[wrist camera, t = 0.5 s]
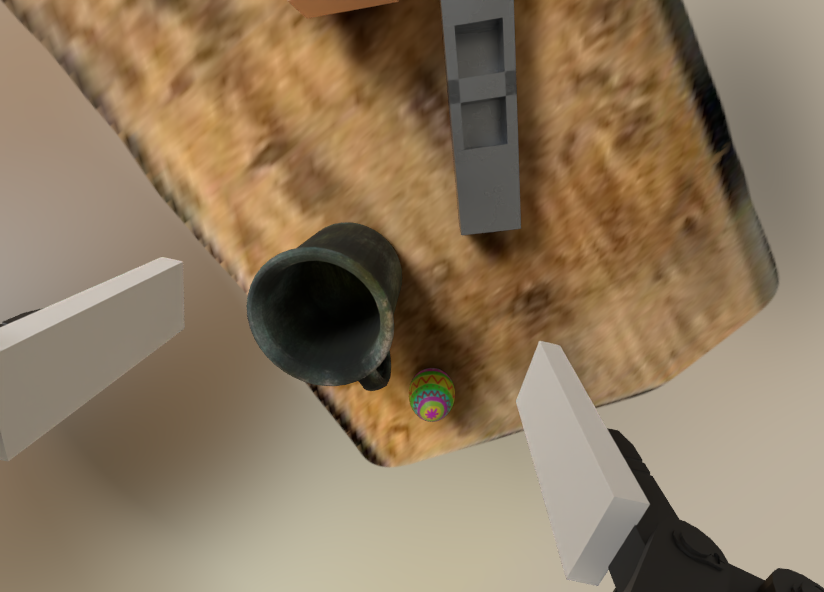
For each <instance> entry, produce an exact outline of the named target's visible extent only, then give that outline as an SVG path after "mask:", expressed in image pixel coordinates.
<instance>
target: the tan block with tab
mask: <svg viewBox="0 0 824 592" xmlns="http://www.w3.org/2000/svg"><path fill="white" fill-rule="evenodd" d="M287 1H288V2H289V3H290V4H292V5H293V6H294V7H295V8H296V9H297V10H298V11H299V12H300V13H301V14H302V15H304V16H305V17H306V18H312V17H318V16H323V15H329V14H334V13H340V12H345V11H351V10H356V9H362V8H367V7H373V6H378V5H383V4H389V3H394V2H399V0H287Z"/></svg>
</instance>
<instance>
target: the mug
mask: <svg viewBox="0 0 824 592" xmlns="http://www.w3.org/2000/svg"><path fill="white" fill-rule="evenodd" d="M401 285H402V269H401V265H400V261H399V259H398V256H397V254H396V252H395V250H394V249H393V247H392V246H391V245H390V243H389V242H388V241H387V240H386V239H385V238H384V237H383V236H382V235H381V234H379V233H378V232H376V231H375V230H373V229H371V228H369V227H367V226H364V225H361V224H357V223H338V224H333V225H330V226H328V227H325V228H324V229H322V230H321V231H319V232H318V233H316V234H315V235H314V236H312V237H311V238H310V239H308V240H307V241H305V242H304V243H303V244H301V245H300V246H299V247H297V248H296V249H291V250H288V251H285V252H283V253H280V254H278V255H277V256H275V257H273V258H272V259H270V260H269V261H268V262H267V263H266V264H264V265H263V266H262V267H261V269H260V270H259V271H258V273H257V274H256V275H255V277H254V279H253V282H252V284H251V286H250V290H249V293H248V298H247V317H248V321H249V326H250V329H251V331H252V334H253V336H254V339H255V340H256V342H257V344H258V345H259V347H260V349H261V350H262V351H263V352H264V354H265V355H266V356H267V357H268V358H269V359H270V360H271V361H272V362H273V363H274V364H275V365H276V366H277V367H279V368H280V369H281V370H283V371H284V372H286V373H287V374H289V375H291V376H292V377H295V378H297V379H299V380H302V381H304V382H308V383H311V384H315V385H322V386H340V385H346V384H350V383H353V382H356V381H359V382H360V384H361V385H362V386H363V388H364V389H366V390H368V391H375V390H379V389H381V388H383V387H385V386H387V384H388V382H389V379H390V376H391V357H390V351H389V349H390V347H391V344H392V340H393V335H394V318H393V315H394V311H395V308H396V304H397V300H398V297H399V293H400V289H401Z"/></svg>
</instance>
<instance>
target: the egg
mask: <svg viewBox="0 0 824 592" xmlns="http://www.w3.org/2000/svg"><path fill="white" fill-rule="evenodd" d="M454 399H455V389H454V385H453V382H452V380H451V378H450V377H449V376H448V375H447V374H446V373H445V372H444V371H442V370H440V369H437V368H427V369H424V370H422V371H420V372H419V373H417V374H416V375H415V377H414V378H413V379H412V381H411V384H410V387H409V401H410V404H411V407H412V409H413V411H414V412H415V413H416V415H417V416H419V417H420V418H421V419H423V420H425V421H429V422H435V421H439V420H441V419H442V418H444V417H445V416H446V415H447V414H448V413H449V412H450V410H451V408H452V406H453V403H454Z"/></svg>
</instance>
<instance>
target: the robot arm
mask: <svg viewBox="0 0 824 592" xmlns="http://www.w3.org/2000/svg"><path fill="white" fill-rule="evenodd" d="M183 329H184V282H183V262H182V261H178V260H174V259H169V258H165V257H161V258H158V259H156V260H154V261H151V262H149V263H147V264H144V265H142V266H140V267H138V268H136V269H133V270H131V271H129V272H126V273H124V274H122V275H119V276H117V277H115V278H113V279H110V280H108V281H106V282H103V283H101V284H99V285H96V286H94V287H92V288H89V289H87V290H85V291H83V292H80V293H78V294H76V295H73V296H72V297H69V298H67V299H64V300H62V301H60V302H57V303H55V304H53V305H51V306H48V307H46V308H43V309H38V310H34V311H30V312H26V313H23V314H20V315H18V316H15V317H13V318H11V319H8V320H6V321H4V322H3V323H2V324H0V460H4V461H9V460H11V459H12V458H13V457H15V456H16V455H17V454H19V453H20V452H21V451H23V450H24V449H25V448H27V447H28V446H29V445H31V444H32V443H33V442H34V441H36V440H37V439H38V438H40V437H41V436H42V435H44V434H45V433H47V431H49V430H50V429H52V428H53V427H54V426H56V425H57V424H58V423H60V422H61V421H62V420H64V419H65V418H66V417H68V416H69V415H70V414H72V413H73V412H74V411H76V410H77V409H78V408H79V407H81V406H82V405H84V404H85V403H86V402H88V401H89V400H90V399H92V398H93V397H94V396H95V395H97V394H98V393H99V392H100V391H102V390H103V389H105V388H106V387H107V386H109V385H110V384H111V383H113V382H114V381H115V380H117V379H118V378H119V377H121V376H122V375H123V374H125V373H126V372H127V371H129V370H130V369H131V368H133V367H134V366H135V365H137V364H138V363H139V362H141V361H142V360H143V359H144V358H146V357H147V356H149V355H150V354H151V353H152V352H154V351H155V350H156V349H158V348H159V347H160V346H162V345H163V344H164V343H166V342H167V341H168V340H170V339H171V338H172V337H174V336H175V335H176V334H178V333H179V332H180V331H182V330H183ZM516 403H517V407H518V410H519V414H520V417H521V421H522V424H523V428H524V431H525V435H526V439H527V442H528V446H529V449H530V452H531V456H532V459H533V463H534V467H535V470H536V474H537V477H538V481H539V484H540V488H541V492H542V495H543V499H544V502H545V506H546V509H547V512H548V516H549V520H550V523H551V527H552V530H553V534H554V537H555V541H556V544H557V548H558V552H559V555H560V558H561V562H562V566H563V569H564V573H565V576H566V579H567V580H572V581H577V582H582V583H587V584H591V585H596V586H598V585H599V583H600V582H601V580H602V579H603V577H604V576H605V574H606V573H607V571H608V570H609V571H610V574H611V576H612V579H613V582H614V584H615V587H616V588H615V589H614V591H613V592H824V588H823V587H821V586H820V585H818V584H817V583H815V582H813V581H812V580H810V579H808V578H807V577H805V576H804V575H802V574H799V573H797V572H794V571H792V570H789V569H780V568H778V569H777V570H775V571H774V572H773V573H772V574H771V575H770V576H769V577H768V578H767V579H766V580H763V579H761V578H759V577H756V576H754V575H752V574H750V573H748V572H746V571H744V570H742V569H740V568H737V567H735V566H733V565H731V564H729V563H728V561H727V560H726V558H725V556H724V554H723V553H722V551H721V550H720V549H719V547H718V546H717V545H716V544H715V543H714V542H713V541H712V540H711V539H710V538H709V537H708V536H706V535H705V534H704V533H703V532H701V531H700V530H699V529H698V528H696V527H694V526H692V525H690V524H689V523H687V522H685V521H682V520H679V518H678V517H677V515H676V513H675V512H674V510H673V508H672V507H671V505H670V504H669V502H668V500H667V499H666V497H665V496H664V494H663V492H662V491H661V489H660V488H659V486H658V484H657V483H656V481H655V480H654V478H653V476H651V475H650V471H649V470H648V468H647V467H646V465H645V464H644V463H642V459H641V457H640V455H639V454H638V452H637V451H636V449H635V447H634V446H633V444H631V443H630V442H629V441H628V440H627V439H626V438H625V437H624V436H623V435H622V434H621V433H620V432H619V431H618V430H613V429H608V428H606V426H605V424H604V422H603V420H602V419H601V417H600V415H599V414H598V412H597V410H596V408H595V406H594V405H593V403H592V401H591V399H590V398H589V396H588V394H587V392H586V390H585V389H584V387H583V385H582V383H581V382H580V380H579V378H578V376H577V375H576V373H575V371H574V369H573V368H572V366H571V364H570V362H569V361H568V359H567V357H566V355H565V353H564V352H563V350H562V348H561V346H560V345H556V344H551V343H547V342H542V341H539V343H538V346H537V348H536V351H535V354H534V356H533V359H532V361H531V364H530V366H529V369H528V372H527V374H526V377H525V379H524V382H523V384H522V387H521V390H520V392H519V395H518V397H517V400H516Z"/></svg>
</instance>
